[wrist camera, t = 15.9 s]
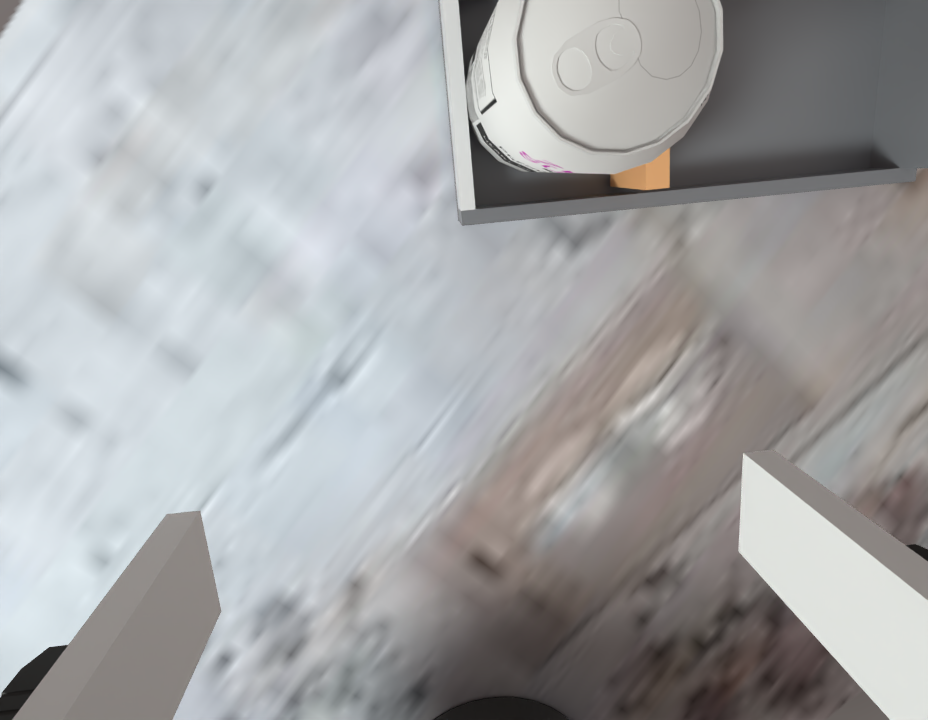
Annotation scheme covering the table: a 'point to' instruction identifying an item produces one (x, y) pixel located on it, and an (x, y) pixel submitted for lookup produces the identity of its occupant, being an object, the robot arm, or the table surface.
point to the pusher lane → (737, 112)
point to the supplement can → (591, 81)
